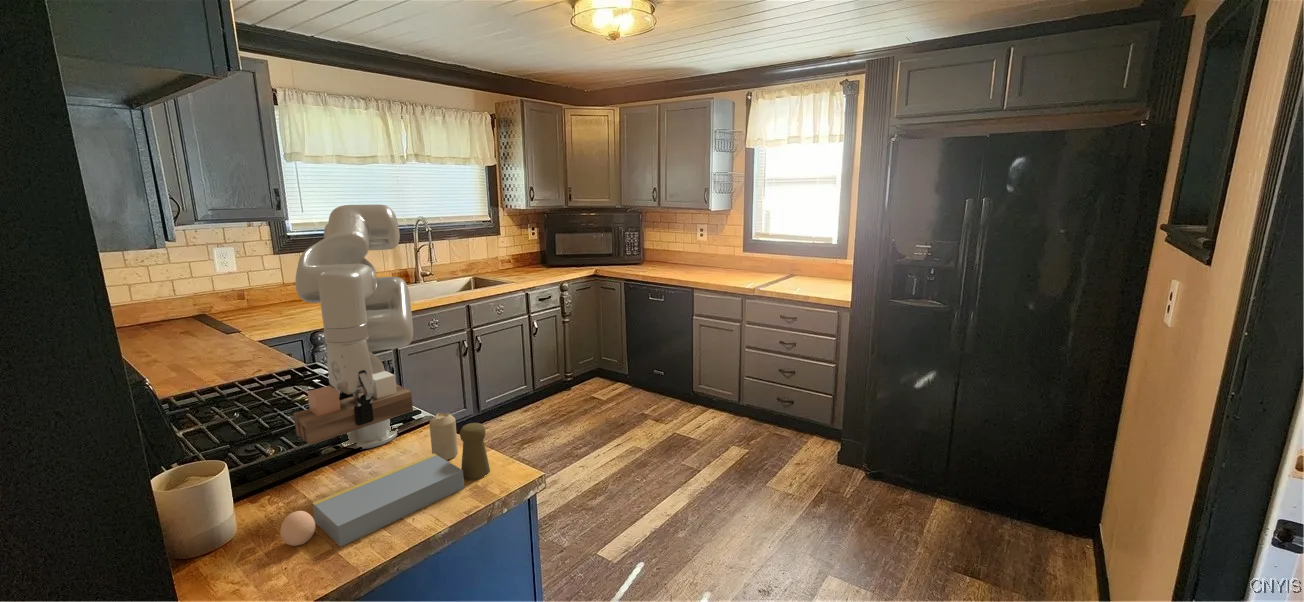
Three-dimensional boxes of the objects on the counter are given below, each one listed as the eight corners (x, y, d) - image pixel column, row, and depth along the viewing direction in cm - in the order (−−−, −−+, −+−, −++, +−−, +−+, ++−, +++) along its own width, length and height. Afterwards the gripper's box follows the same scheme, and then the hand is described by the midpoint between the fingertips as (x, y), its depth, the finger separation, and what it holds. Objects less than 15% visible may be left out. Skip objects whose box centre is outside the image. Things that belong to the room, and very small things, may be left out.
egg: (310, 530, 100) (306, 500, 98) (322, 541, 96) (317, 511, 95) (278, 544, 96) (273, 513, 94) (289, 556, 93) (284, 525, 91)
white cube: (368, 394, 115) (366, 376, 114) (387, 388, 118) (385, 370, 117) (377, 398, 112) (375, 380, 112) (396, 393, 116) (394, 375, 115)
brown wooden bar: (296, 434, 106) (293, 413, 106) (398, 403, 122) (396, 383, 121) (309, 445, 102) (306, 422, 101) (413, 411, 118) (411, 391, 117)
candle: (428, 455, 126) (424, 414, 124) (450, 447, 130) (447, 407, 128) (439, 463, 123) (435, 422, 121) (462, 455, 127) (459, 414, 124)
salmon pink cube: (310, 410, 107) (307, 391, 106) (332, 404, 110) (329, 385, 109) (318, 416, 104) (315, 396, 103) (340, 409, 107) (338, 390, 106)
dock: (315, 522, 102) (312, 502, 101) (435, 470, 120) (434, 453, 119) (340, 546, 95) (337, 526, 94) (464, 487, 113) (462, 470, 112)
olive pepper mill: (472, 483, 115) (468, 434, 113) (455, 473, 119) (451, 426, 116) (496, 471, 120) (493, 424, 117) (479, 462, 123) (475, 417, 121)
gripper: (308, 329, 111) (319, 412, 114) (345, 345, 100) (356, 437, 104) (347, 322, 116) (357, 401, 120) (386, 336, 105) (395, 423, 109)
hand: (356, 417), depth 112 cm, fingers closed on brown wooden bar, 6 cm apart
